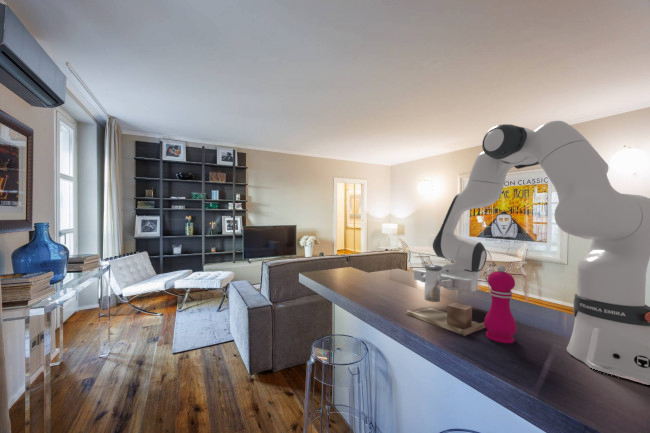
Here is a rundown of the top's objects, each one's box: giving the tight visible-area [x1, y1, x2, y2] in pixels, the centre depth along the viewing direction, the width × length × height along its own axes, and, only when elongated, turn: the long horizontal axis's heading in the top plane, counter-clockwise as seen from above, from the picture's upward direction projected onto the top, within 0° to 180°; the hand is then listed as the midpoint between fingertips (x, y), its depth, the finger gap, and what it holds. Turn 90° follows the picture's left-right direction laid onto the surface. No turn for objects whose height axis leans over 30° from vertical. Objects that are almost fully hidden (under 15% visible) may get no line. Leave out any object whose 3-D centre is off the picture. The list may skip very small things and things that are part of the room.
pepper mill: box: [483, 265, 518, 344], centre depth 72 cm, size 7×7×20 cm
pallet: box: [405, 307, 486, 336], centre depth 84 cm, size 19×13×2 cm
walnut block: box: [446, 301, 473, 330], centre depth 79 cm, size 5×5×6 cm
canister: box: [423, 264, 443, 303], centre depth 90 cm, size 5×5×11 cm
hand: (431, 281), depth 89 cm, fingers closed on canister, 5 cm apart
